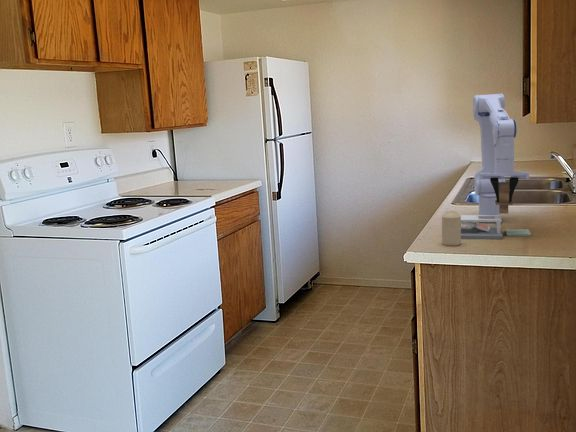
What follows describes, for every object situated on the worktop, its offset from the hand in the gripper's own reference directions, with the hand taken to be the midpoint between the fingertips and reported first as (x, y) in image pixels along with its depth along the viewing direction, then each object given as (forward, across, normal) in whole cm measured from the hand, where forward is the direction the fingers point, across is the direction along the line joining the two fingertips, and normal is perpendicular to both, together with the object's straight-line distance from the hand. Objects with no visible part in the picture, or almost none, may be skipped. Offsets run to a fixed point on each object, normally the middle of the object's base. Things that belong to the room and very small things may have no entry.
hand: (503, 201), depth 192 cm
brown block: (+4, 0, 0) cm, 4 cm away
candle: (+11, -16, -15) cm, 24 cm away
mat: (+10, +4, 0) cm, 11 cm away
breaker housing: (+10, -9, -1) cm, 14 cm away
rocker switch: (+8, -9, -1) cm, 12 cm away
